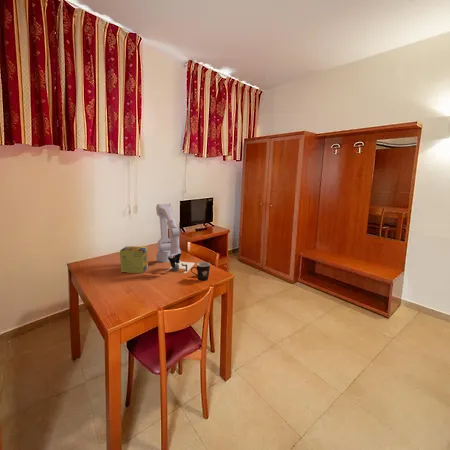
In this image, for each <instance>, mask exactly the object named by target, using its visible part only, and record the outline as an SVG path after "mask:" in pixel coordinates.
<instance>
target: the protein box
mask: <svg viewBox="0 0 450 450" xmlns="http://www.w3.org/2000/svg"><path fill="white" fill-rule="evenodd" d="M148 257H149V256H148V246H130V245H129V246H127V245H126V246H124V247H123V248H122V249H120V250H119V261H120V262H119V263H120V273H122V272H127V273H126V274H128V273H130V274H144V273H145V272H146V271H147V270H148V268H149V260H148Z"/></svg>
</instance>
